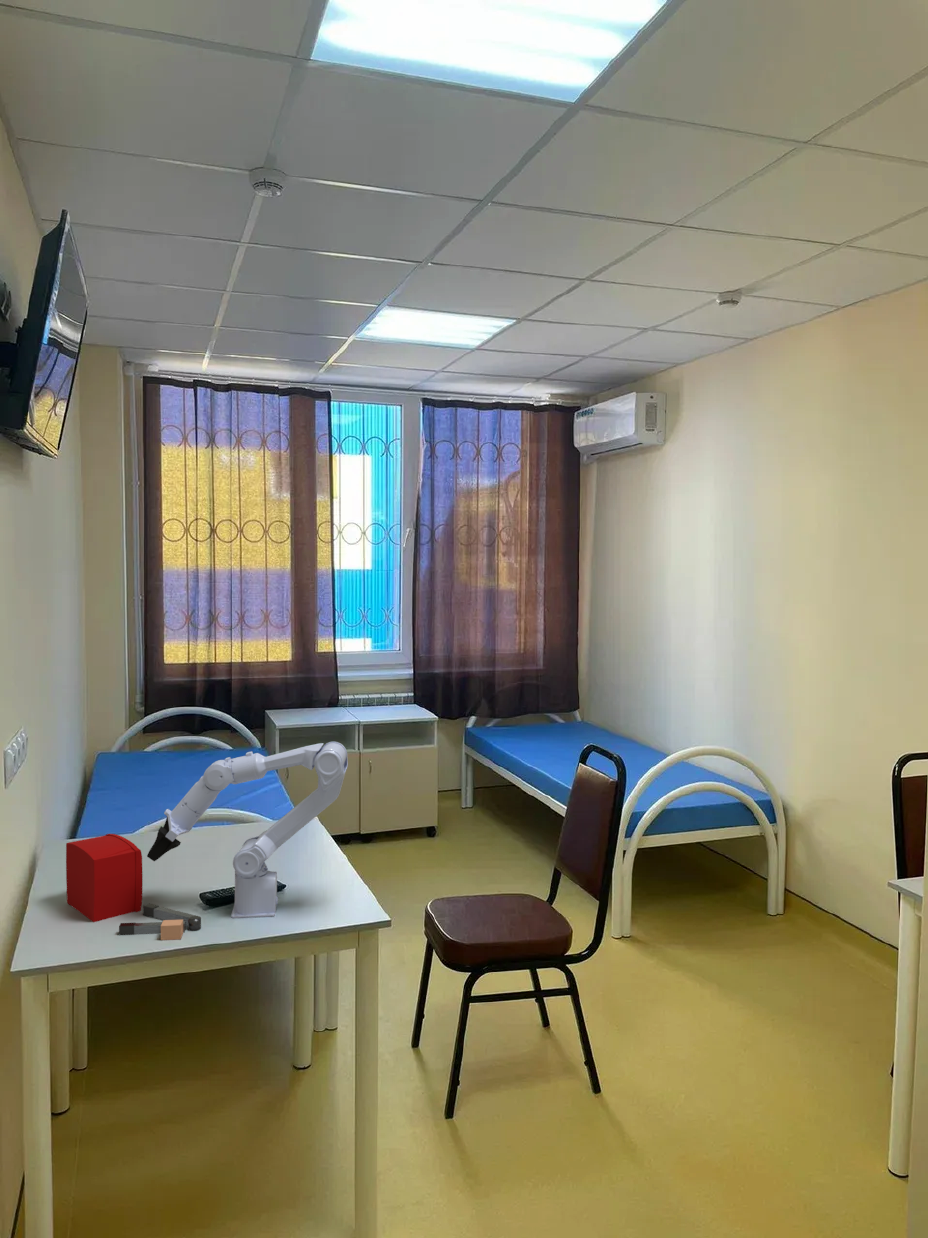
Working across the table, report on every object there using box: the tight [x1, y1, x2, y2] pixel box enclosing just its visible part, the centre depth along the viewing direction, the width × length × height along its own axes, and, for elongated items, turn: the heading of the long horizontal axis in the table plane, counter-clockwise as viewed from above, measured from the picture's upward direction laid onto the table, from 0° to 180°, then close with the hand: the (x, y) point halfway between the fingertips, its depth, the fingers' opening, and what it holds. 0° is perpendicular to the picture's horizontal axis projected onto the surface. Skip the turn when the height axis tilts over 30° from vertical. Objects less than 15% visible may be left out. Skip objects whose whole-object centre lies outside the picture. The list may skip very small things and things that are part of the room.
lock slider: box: [160, 920, 184, 941], centre depth 185 cm, size 4×3×3 cm
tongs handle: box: [118, 921, 187, 936], centre depth 187 cm, size 13×2×2 cm, turn 99°
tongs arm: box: [142, 902, 202, 932], centre depth 193 cm, size 16×3×2 cm, turn 64°
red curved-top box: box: [65, 833, 143, 923], centre depth 201 cm, size 16×11×15 cm
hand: (154, 851), depth 199 cm, fingers open, 7 cm apart
